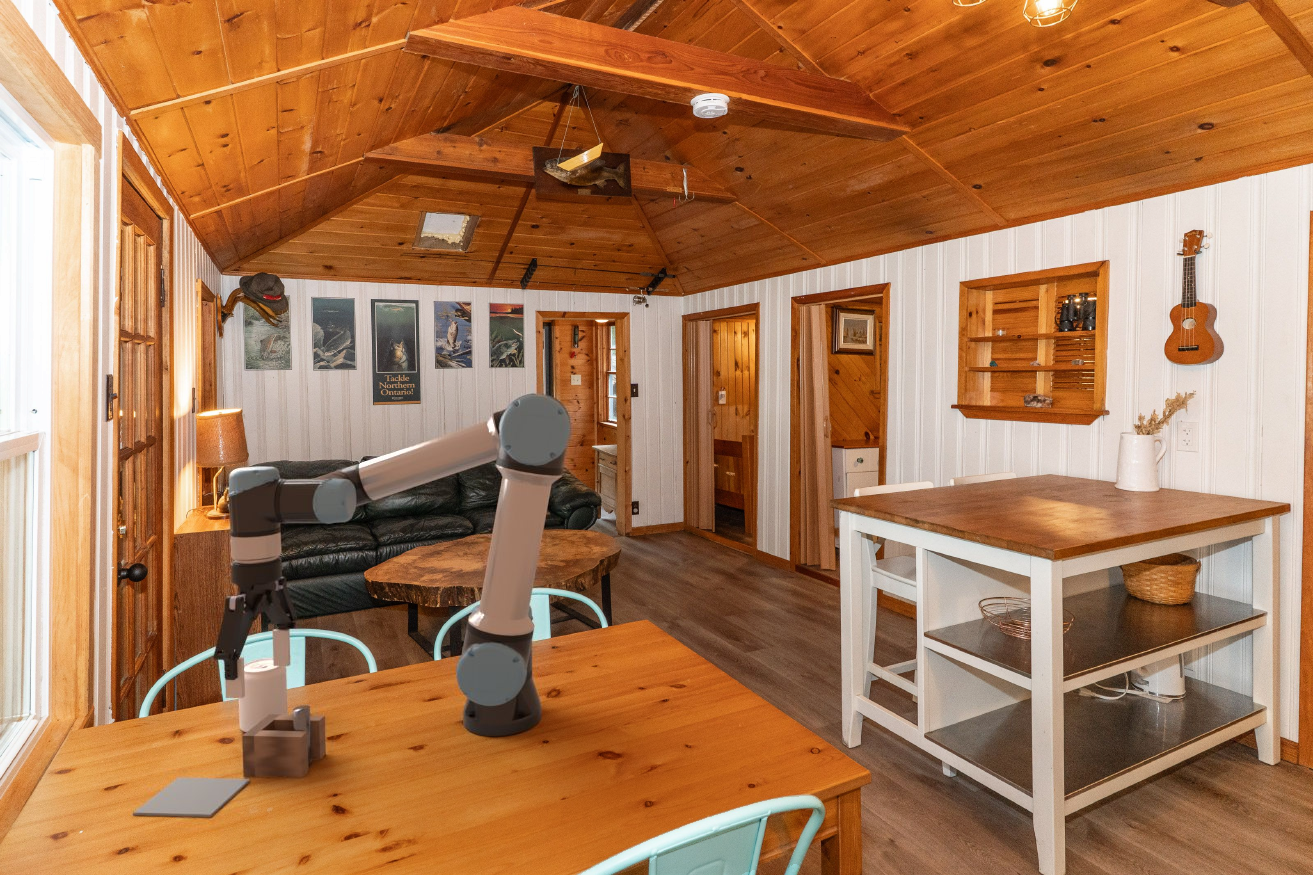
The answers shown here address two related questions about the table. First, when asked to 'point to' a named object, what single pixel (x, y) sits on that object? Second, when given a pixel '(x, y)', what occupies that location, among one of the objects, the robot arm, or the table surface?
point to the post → (303, 724)
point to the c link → (281, 747)
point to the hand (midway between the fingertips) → (260, 680)
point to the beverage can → (262, 692)
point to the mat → (192, 797)
